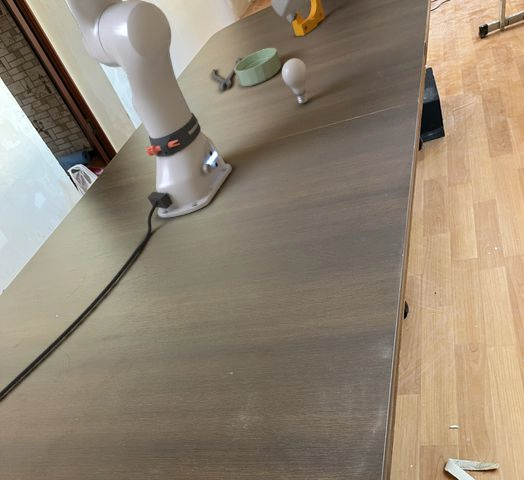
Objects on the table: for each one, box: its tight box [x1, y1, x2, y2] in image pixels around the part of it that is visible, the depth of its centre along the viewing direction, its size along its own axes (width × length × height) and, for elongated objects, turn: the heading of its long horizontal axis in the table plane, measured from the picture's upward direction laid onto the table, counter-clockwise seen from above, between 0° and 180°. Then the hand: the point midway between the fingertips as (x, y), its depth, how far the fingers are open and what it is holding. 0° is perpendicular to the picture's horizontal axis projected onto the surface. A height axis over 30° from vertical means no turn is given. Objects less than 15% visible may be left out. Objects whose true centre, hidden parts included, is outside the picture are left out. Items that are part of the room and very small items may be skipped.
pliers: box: [211, 57, 242, 92], centre depth 168 cm, size 11×1×25 cm
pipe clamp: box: [291, 0, 326, 37], centre depth 167 cm, size 12×4×6 cm, turn 130°
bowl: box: [233, 47, 282, 87], centre depth 154 cm, size 14×14×5 cm
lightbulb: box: [281, 57, 309, 105], centre depth 126 cm, size 6×6×11 cm
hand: (307, 7), depth 105 cm, fingers open, 8 cm apart
